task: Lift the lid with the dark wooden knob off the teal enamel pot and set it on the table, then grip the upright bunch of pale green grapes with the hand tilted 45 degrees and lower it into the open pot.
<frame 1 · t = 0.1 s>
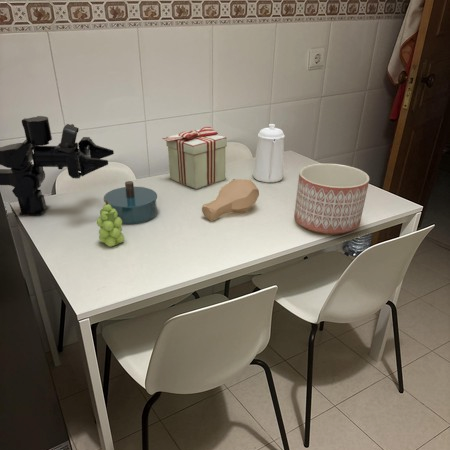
hand: (110, 157, 127), 17 cm above the table, tool horizontal, fingers open, 9 cm apart
pot lid: (130, 197, 133), point 5 cm above the table, touching pot
squash: (230, 212, 139), on the table
coffeepot: (267, 179, 163), on the table
pot: (132, 213, 136), on the table
planter: (326, 223, 133), on the table
gift box: (193, 179, 161), on the table
grapes: (112, 242, 121), on the table
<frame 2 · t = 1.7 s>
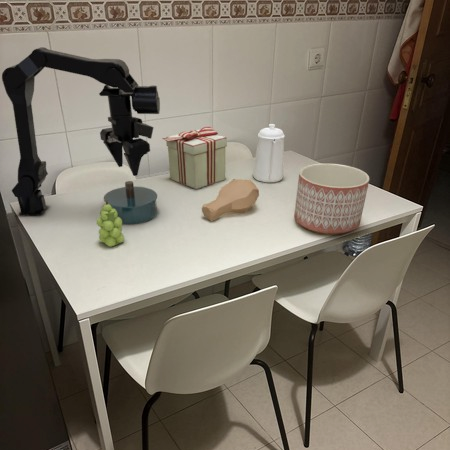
hand: (127, 171, 128), 13 cm above the table, tool pointing down, fingers open, 9 cm apart
nothing on the table moved.
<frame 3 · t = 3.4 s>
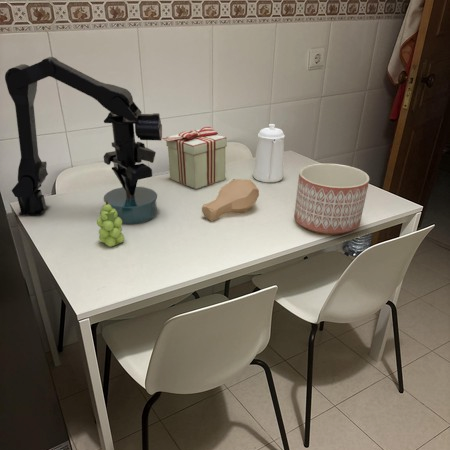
hand: (130, 193, 132), 6 cm above the table, tool pointing down, fingers closed on pot lid, 2 cm apart
pot lid: (130, 197, 133), point 5 cm above the table, touching gripper, pot
everything else where it was.
when the fingers open (2 cm above the table, at t = 8.8 s): pot lid stays where it is, point 1 cm above the table.
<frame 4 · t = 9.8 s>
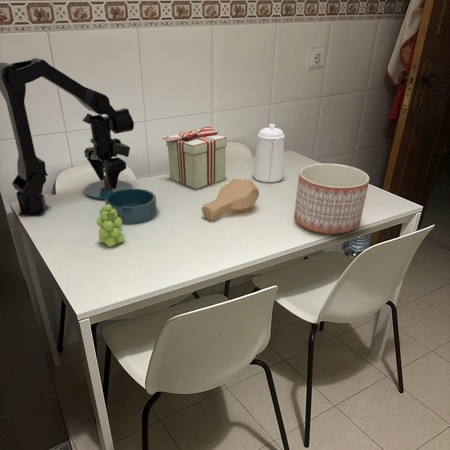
hand: (108, 184, 148), 2 cm above the table, tool pointing down, fingers open, 9 cm apart
pot lid: (108, 189, 149), point 1 cm above the table
everything else where it was.
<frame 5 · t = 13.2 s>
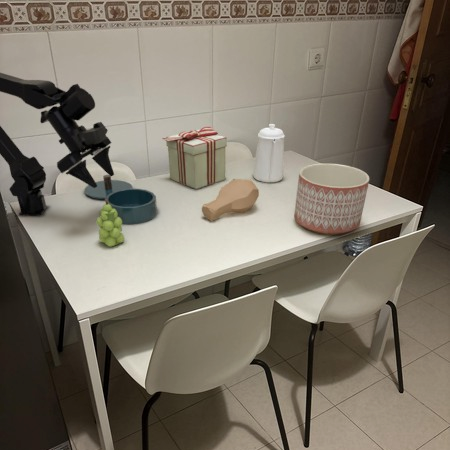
hand: (104, 181, 123), 13 cm above the table, tool tilted 35°, fingers open, 9 cm apart
nothing on the table moved.
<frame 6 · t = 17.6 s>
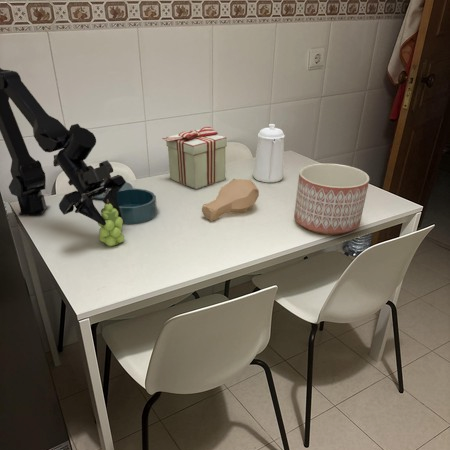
hand: (112, 221, 116), 7 cm above the table, tool tilted 45°, fingers closed on grapes, 5 cm apart
grapes: (112, 242, 121), on the table, touching gripper
everything else where it was.
when the fingers open (7 cm above the table, at t = 24.8 s): grapes stays where it is, resting on pot.
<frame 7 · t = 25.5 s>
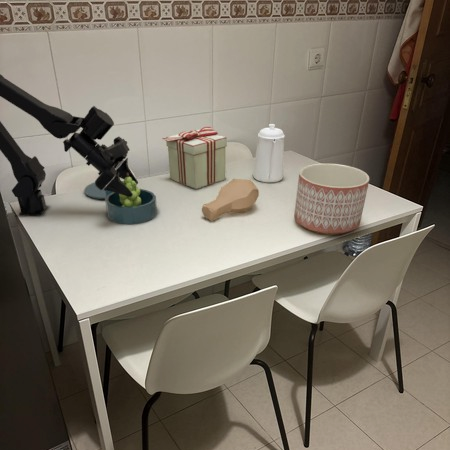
hand: (134, 189, 132), 8 cm above the table, tool tilted 45°, fingers open, 9 cm apart
grapes: (131, 212, 136), resting on pot
everything else where it was.
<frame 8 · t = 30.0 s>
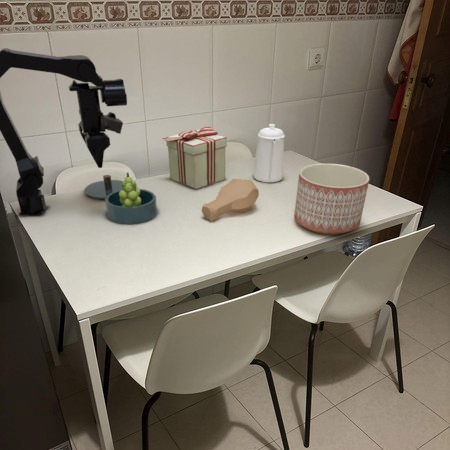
hand: (97, 162, 134), 13 cm above the table, tool pointing down, fingers open, 9 cm apart
nothing on the table moved.
at the end: pot lid inside the target area (0.0 cm from its centre), point 0.6 cm above the table; grapes inside the target area in the pot (0.2 cm from its centre), point 0.4 cm above the pot's base; grapes tilted 0° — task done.
